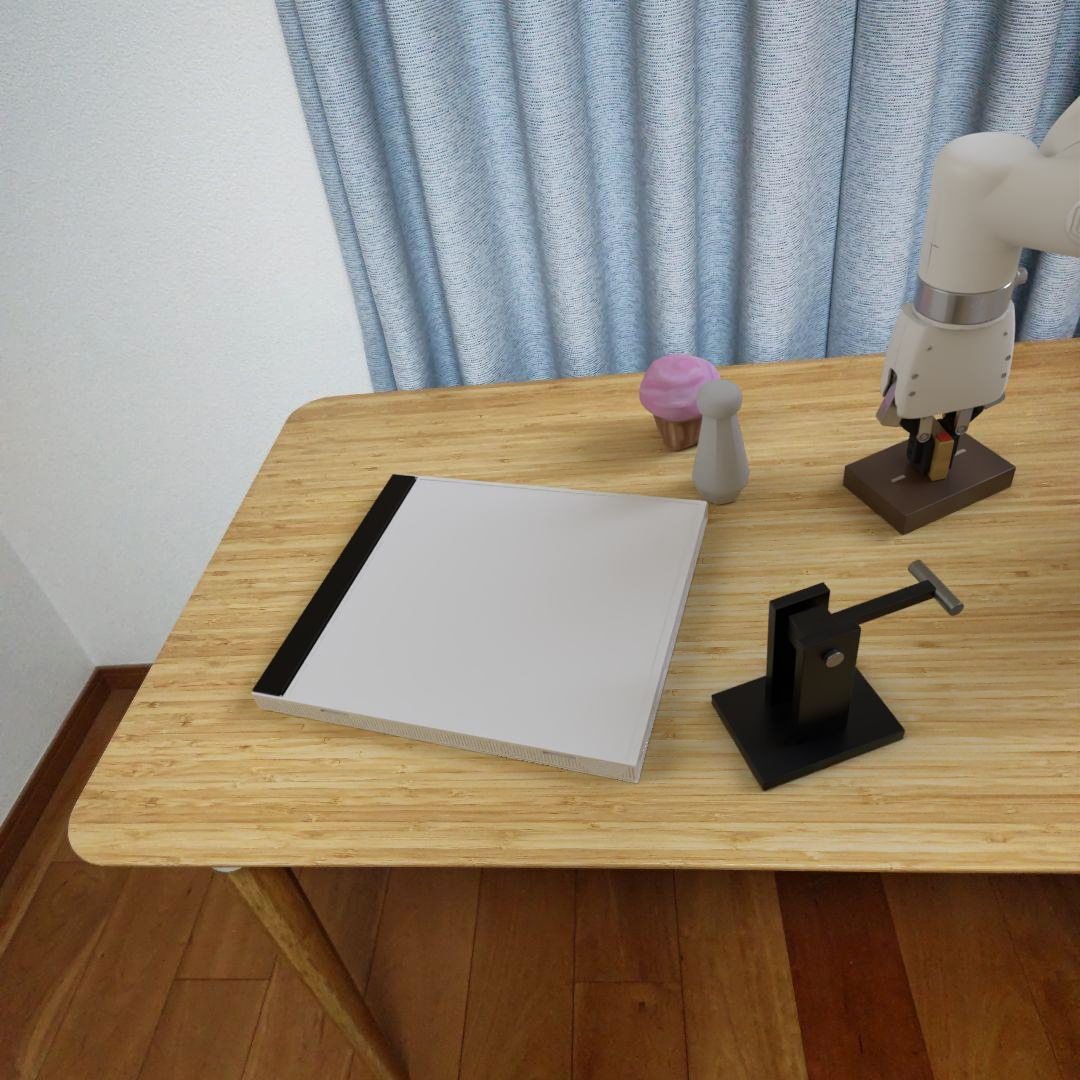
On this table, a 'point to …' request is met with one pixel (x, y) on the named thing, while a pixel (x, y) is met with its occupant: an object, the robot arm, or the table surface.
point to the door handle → (876, 605)
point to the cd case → (498, 622)
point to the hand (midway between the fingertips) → (929, 462)
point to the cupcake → (676, 396)
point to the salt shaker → (720, 444)
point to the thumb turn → (940, 452)
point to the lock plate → (926, 483)
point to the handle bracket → (805, 700)
